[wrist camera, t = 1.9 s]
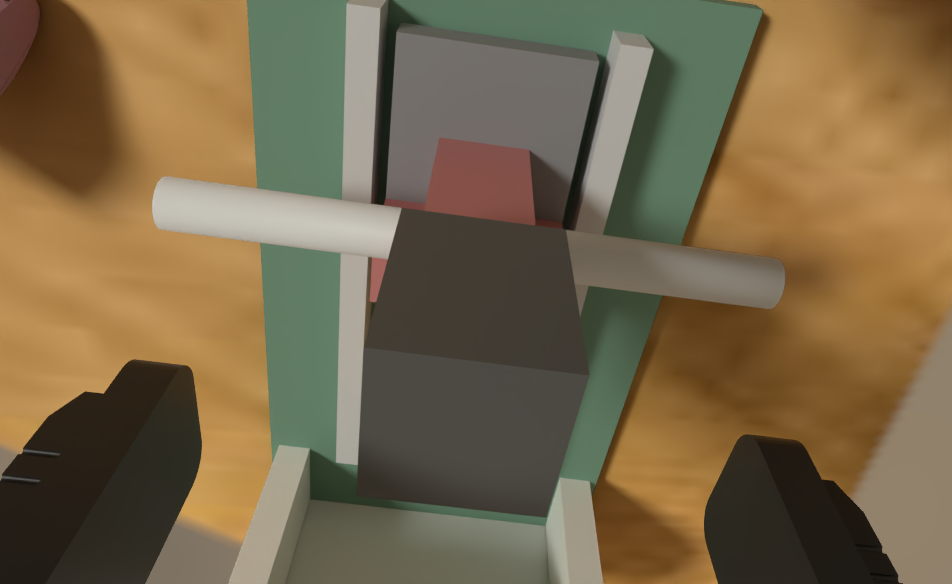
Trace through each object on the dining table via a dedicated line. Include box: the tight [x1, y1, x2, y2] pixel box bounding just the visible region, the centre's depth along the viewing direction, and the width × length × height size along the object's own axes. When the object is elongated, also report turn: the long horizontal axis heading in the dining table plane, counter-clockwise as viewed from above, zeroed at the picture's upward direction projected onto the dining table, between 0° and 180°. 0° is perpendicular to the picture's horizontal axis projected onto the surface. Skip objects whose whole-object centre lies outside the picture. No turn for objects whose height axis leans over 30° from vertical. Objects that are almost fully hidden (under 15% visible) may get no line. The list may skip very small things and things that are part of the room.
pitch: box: [247, 0, 763, 526], centre depth 22 cm, size 22×13×2 cm, turn 172°
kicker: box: [152, 23, 785, 518], centre depth 14 cm, size 6×14×11 cm, turn 82°
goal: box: [228, 445, 603, 584], centre depth 25 cm, size 4×12×7 cm, turn 82°
